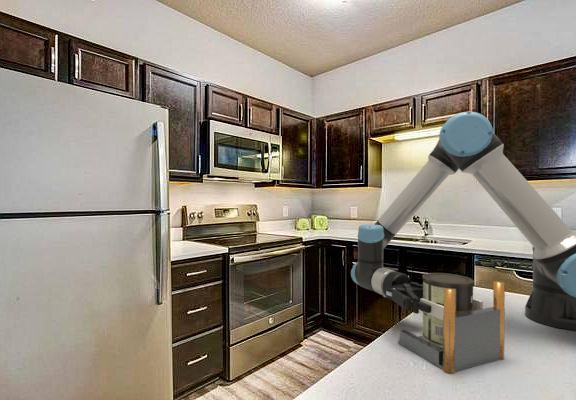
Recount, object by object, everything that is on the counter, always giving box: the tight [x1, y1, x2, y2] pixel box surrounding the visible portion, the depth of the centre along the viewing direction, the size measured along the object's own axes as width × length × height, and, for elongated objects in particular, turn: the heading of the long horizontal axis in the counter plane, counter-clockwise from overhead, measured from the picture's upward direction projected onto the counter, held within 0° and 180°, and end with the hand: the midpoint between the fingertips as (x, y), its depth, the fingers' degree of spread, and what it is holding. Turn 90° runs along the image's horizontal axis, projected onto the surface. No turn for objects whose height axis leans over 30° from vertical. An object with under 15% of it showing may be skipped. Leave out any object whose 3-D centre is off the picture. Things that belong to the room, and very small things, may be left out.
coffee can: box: [421, 272, 475, 348], centre depth 72 cm, size 10×10×14 cm
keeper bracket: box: [398, 280, 506, 375], centre depth 71 cm, size 16×14×16 cm
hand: (464, 310), depth 68 cm, fingers closed on coffee can, 10 cm apart
